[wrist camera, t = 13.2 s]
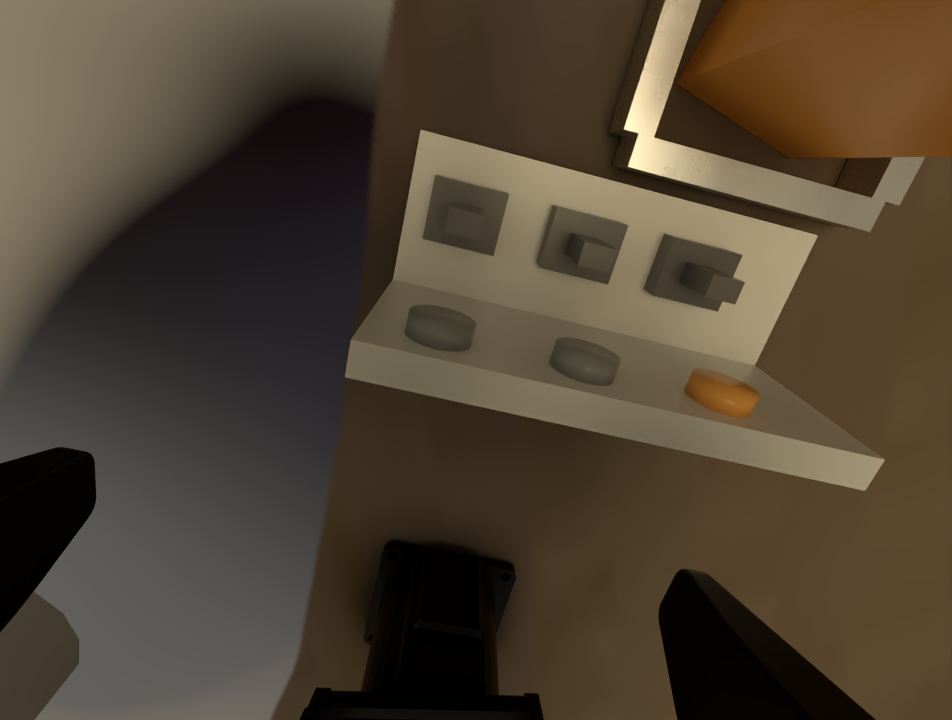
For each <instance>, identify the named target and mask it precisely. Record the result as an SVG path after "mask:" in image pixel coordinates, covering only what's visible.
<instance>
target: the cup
mask: <svg viewBox="0 0 952 720" xmlns="http://www.w3.org/2000/svg"><path fill="white" fill-rule="evenodd" d="M78 664H79V639H78V637H77V635H76V634H75V632H74V631H73V629H72V627H71V626H70V624H69V623H68V621H67V619H66V617H65V616H64V614H63V613H62V612H60V611H59V610H58V609H56V608H55V607H54V606H52V605H51V604H50V603H48V602H47V601H46V600H44V599H43V598H41V597H40V596H39V595H38V594H36V593H35V592H33V593H32V594H31V596H30V597H29V598H28V600H27V601H26V602H25V603H24V605H23V606H22V607H21V609H20V610H19V611H18V612H17V614H16V615H15V616H14V617H13V618H12V620H11V621H10V622H9V623H8V624H7V625H6V627H5V628H4V629H3V630H2V631H1V632H0V720H35V718H36V717H37V716H38V714H39V713H40V712H41V711H42V710H43V708H44V707H45V706H46V704H47V703H48V702H49V701H50V699H51V698H52V697H53V696H54V694H55V693H56V692H57V690H58V689H59V688H60V686H61V685H62V684H63V683H64V682H65V680H66V679H67V678H68V676H69V675H70V674H71V673H72V672H73V670H74V669H75V668H76V666H77V665H78Z"/></svg>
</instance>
